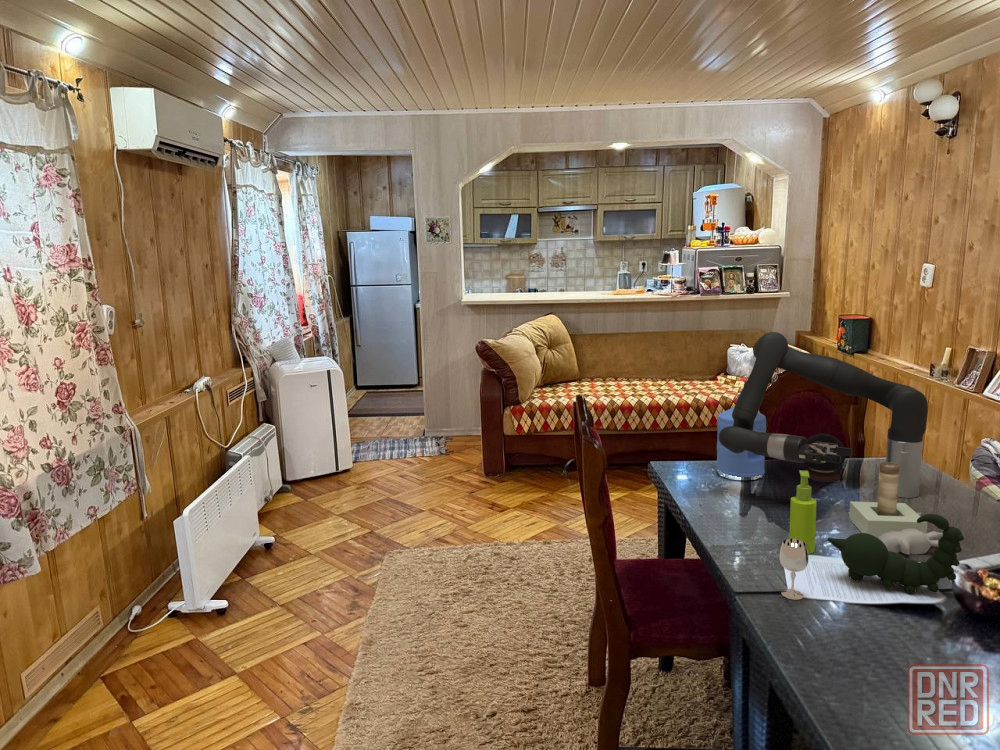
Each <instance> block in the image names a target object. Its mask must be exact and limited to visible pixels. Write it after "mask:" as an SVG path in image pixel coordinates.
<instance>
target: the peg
mask: <svg viewBox="0 0 1000 750" xmlns="http://www.w3.org/2000/svg"><path fill="white" fill-rule="evenodd" d="M899 467H900V466H899V465H898V464H895V463H890V462H886V461H884V462H880V463H879V472H878V473H879V475H878V492H877V502H878V505H877V515H878V516H896V508H897V503H898V497H897V493H898V478H899Z"/></svg>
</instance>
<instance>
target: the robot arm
mask: <svg viewBox="0 0 1000 750" xmlns="http://www.w3.org/2000/svg"><path fill="white" fill-rule="evenodd" d="M752 353H753V356H754V358H755V361H754V364H753V367H752V370H751V372H750V374H749V375H748V379H747V380H746V382H745V383H744V385H743V387H742V389H741V391H740V393H739V394H740V395H739V397H738V396H737V399H736V403H735V404H734V406H733V408H734V409H733V412H732V418H733V420H734V424H733V426H728V427H725V428H723V429H722V430H721V431H720V433H719V441H720V443H721V444H722V445H723V446H724V447H725V448H727V449H728V450H730V451H731V452H733V453H742V452H744V451H745V450H746V451H750V452H752V453H754V454H757V455H762V456H765V457H768V458H774V459H777V460H783V461H788V462H796V463H800V464H801V463H804V461H806V462H812V463H817V464H820V463H821V462H823V463H824V462H830V463H837V464H840V463H841V456H840V455H843V456H845V457H851V456H853V449H852V448H851V447H845V446H844V447H838V444H836V443H826V442H819V441H817V442H816V443H812V444H808V442H807V439H808V438H806V437H805V436H800V435H794V434H793V435H792V434H786V433H785V434H784V433H773V432H771V433H770V432H765V433H764V432H756V431H753V425H754V420H755V418H756V416H757V413H758V412H759V410H760V408H761V405H762V403H763V400H764V398H765V395H766V392H767V389H768V387H769V385H770V382H771V380H772V378H773V376H774V374H775V371H776V370H777V369H781V370H785V371H788V372H791V373H794V374H795V375H798V376H800V377H803V378H804V379H807V380H809V381H811V382H813V383H817V384H818V385H821V386H823V387H825V388H829V389H831V390H834V391H835V392H836V391H837V392H839V393H843V394H845V395H850V396H856V397H860V398H864V399H867V400H870V401H872V402H874V403H877V404H879V405H881V406H883V407H885V408H887V409H889V410H890V411H891V421H890V427H889V428H888V429H887V434H886V435H887V439H886V453H885V454H886V455H885V456H886V457H885V462H890V463H895V464H898V465H899V466H900V467H899V478H898V493H897V498H904V499H905V498H906V499H907V498H908V499H911V498H917V497H919V495H920V484H921V470H922V457H923V456H922V455H923V441H924V439H923V438H924V435H925V433H926V430H927V421H928V410H929V404H928V399H927V397H926V395H925V394H924V393H923V392H921V391H919V390H918V389H916V388H915V387H913V386H909V385H905V384H902V383H898V382H893V381H891V380H887V379H885V378H881V377H878V376H876V375H874V374H872V373H870V372H868V371H867V370H864V369H862V368H860V367H859V366H855V365H854V364H851V363H849V362H847V361H843V360H841V359H838V358H834V357H832V356H829V355H822V354H816V353H810V352H806V351H805V352H804V351H801V350H798V349H796V348H793V347H790V346H789V342H788V340H787V338H786V337H785V335H783V334H782V333H780V332H777V331H771V332H767V333H765V334H763V335H762V336H760V337H759V339H758V340H756V342H754V344H753V348H752ZM830 448H833V450H831V449H830ZM825 451H826V452H825Z"/></svg>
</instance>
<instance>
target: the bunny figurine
mask: <svg viewBox="0 0 1000 750" xmlns="http://www.w3.org/2000/svg"><path fill="white" fill-rule="evenodd" d="M939 537H940V533H939V532H938V531H935V530H933V531H930V532H927V533H926V534H925V533H923V532H921V531H919V530H917V529H913V528H910V529H903V530H902V531H900V532H897V531H889V532H886V533H883V534H882V535H881V536H880V537H879V539H880V540H881V541H882V542H883V543H884V544H885V546H886V547H887V549H888V551H892V552H896V553H898V554H900V553H903V554H904V555H923V554H927V552H928V551H929V550H930V548H931V547H936V548H937V547H938V541H939V539H937V538H939Z"/></svg>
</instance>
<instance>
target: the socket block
mask: <svg viewBox="0 0 1000 750" xmlns="http://www.w3.org/2000/svg"><path fill="white" fill-rule="evenodd" d="M877 505H878V501H875V502H874V501H849V514H848V515H849V516H848V518H849V520H850V522H852V523H853V525H854V524H855V525H854V526H855V527H856V528H857V529H858V530H859V531H860V533H867V534H871V535H873V536H875V537H877V538H879V537H880V536H881V535H882V534H883V533H886V532H889V531H897V532H900V531H902V530H903V529H910V528H913V529H917V530H919V531H921V532H923V533H925V534H926V533H928V523H929V522H921V523H917V519H918V518H919V517H921V516H922V515H920V514H918V513H917V511H914V509H912V508H911V507H910V506H909V505H908V504H907V503H905V502H897V508H896V516H878V515H877Z"/></svg>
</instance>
